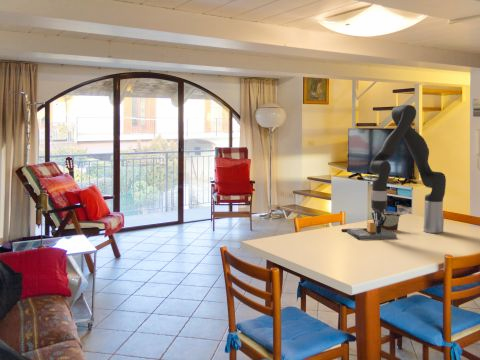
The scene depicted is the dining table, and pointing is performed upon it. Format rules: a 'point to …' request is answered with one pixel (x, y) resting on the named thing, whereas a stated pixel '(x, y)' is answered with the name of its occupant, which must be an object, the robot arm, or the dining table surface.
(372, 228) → the lever
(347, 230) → the cord
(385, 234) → the panel
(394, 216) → the food container
